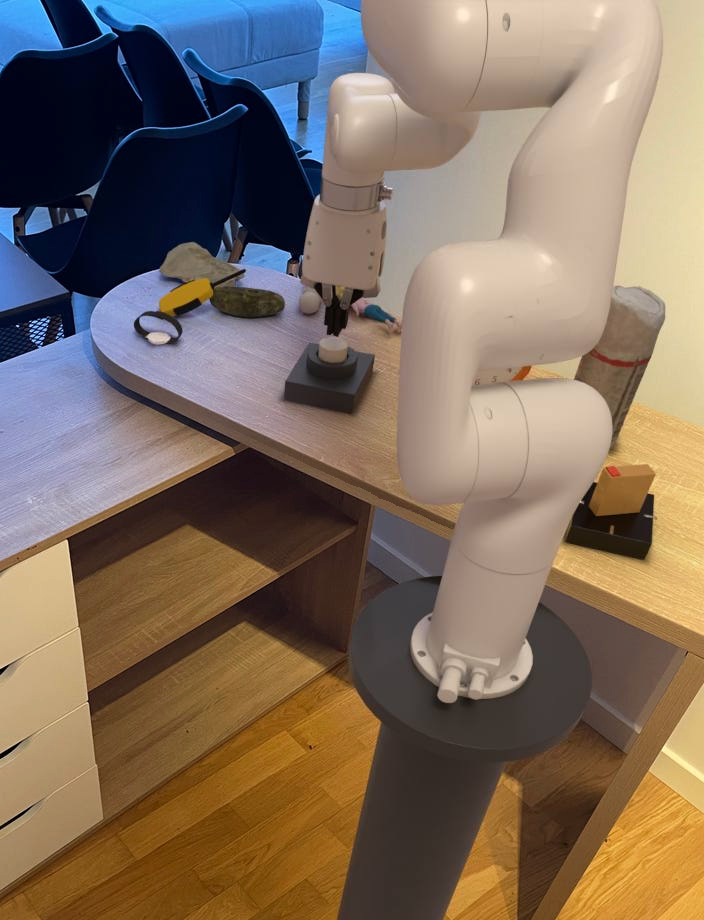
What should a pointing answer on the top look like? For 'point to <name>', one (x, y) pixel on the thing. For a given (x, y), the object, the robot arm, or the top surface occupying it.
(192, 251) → the stone
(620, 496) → the knob
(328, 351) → the white push button
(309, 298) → the chess piece
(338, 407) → the dark grey button base
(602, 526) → the panel
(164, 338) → the watch
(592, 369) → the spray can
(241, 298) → the decorative stone
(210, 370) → the top surface
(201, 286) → the walkie talkie
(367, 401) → the top surface
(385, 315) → the figurine
